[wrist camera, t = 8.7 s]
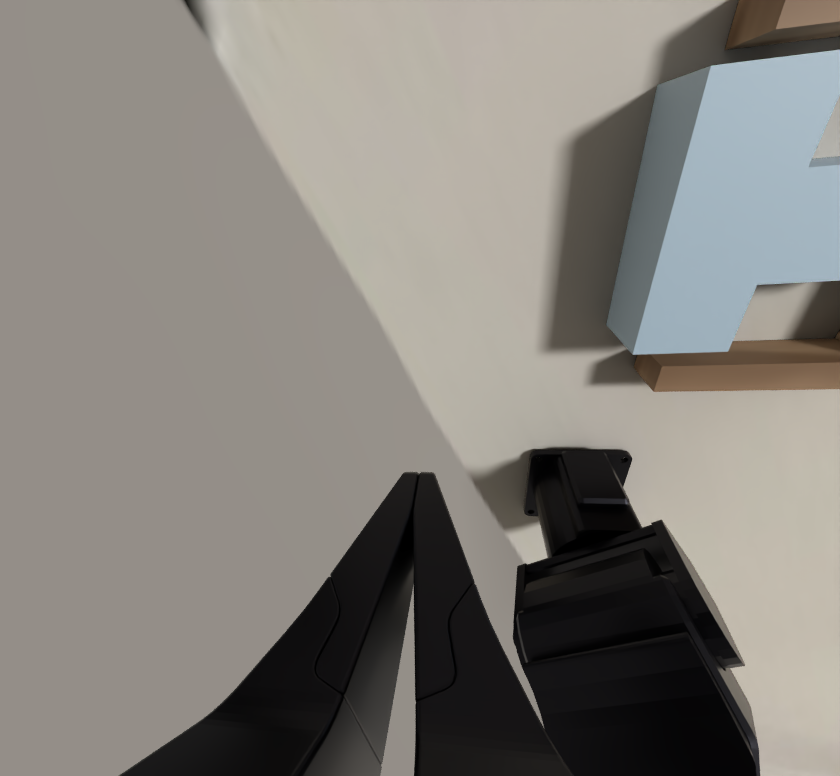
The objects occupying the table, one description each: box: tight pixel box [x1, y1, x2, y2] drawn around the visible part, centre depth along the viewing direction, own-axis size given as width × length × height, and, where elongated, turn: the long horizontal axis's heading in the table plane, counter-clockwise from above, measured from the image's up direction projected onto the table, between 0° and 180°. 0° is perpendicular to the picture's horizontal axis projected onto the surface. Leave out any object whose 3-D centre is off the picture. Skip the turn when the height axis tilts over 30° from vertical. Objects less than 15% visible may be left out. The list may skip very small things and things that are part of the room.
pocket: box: [634, 0, 840, 392], centre depth 15 cm, size 15×11×2 cm
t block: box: [606, 50, 840, 355], centre depth 14 cm, size 10×11×4 cm
